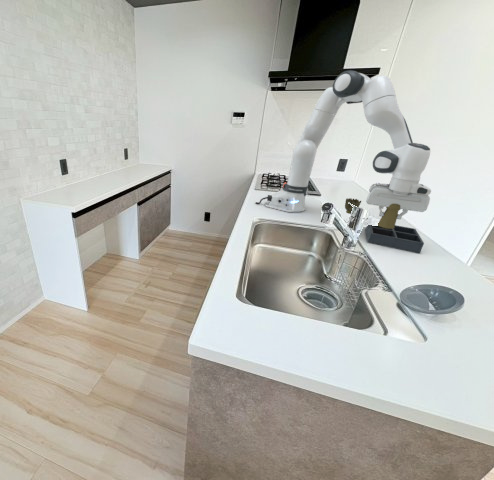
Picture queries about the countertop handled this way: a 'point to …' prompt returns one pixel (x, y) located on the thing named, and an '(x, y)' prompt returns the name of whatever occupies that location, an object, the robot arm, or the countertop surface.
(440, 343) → the countertop surface
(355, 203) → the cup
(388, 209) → the cork
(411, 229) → the grid
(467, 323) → the countertop surface
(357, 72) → the robot arm
